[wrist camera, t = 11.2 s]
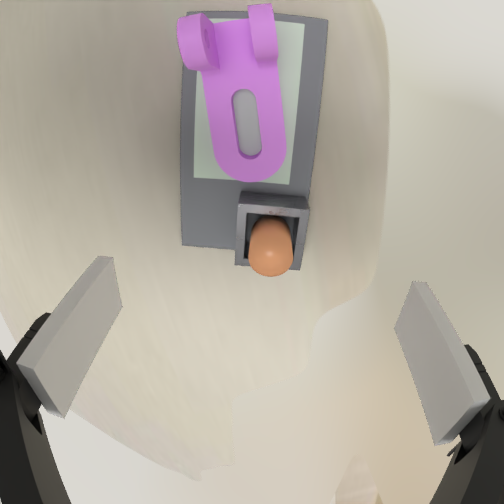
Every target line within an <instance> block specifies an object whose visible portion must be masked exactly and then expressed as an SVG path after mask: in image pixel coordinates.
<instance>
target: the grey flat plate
mask: <svg viewBox="0 0 504 504" xmlns="http://www.w3.org/2000/svg"><path fill="white" fill-rule="evenodd" d="M199 13H204V14H205V16H206V17H207V18H208V19H209V20H210V21H211V22H212V23H219V22H225V21H232V20H239V19H246V18H249V14H248V12H244V11H198V12H187V15H186V16H189V15H194V14H199ZM273 14H274V20H275V27H276V34H277V43H278V59H277V67H278V74H279V83H280V91H281V99H282V108H283V117H284V126H285V136H286V147H287V149H286V156H285V159H284V162H283V164H282V165H281V167H280V168H279V170H278V171H277V172H276V173H274V174H273V175H272V176H271V177H269V178H267V179H265V180H262V181H258V182H243V181H239V180H236V179H234V178H232V177H230V176H229V175H227V174H226V173H225V172H224V171H223V170H222V169H221V168H220V166H219V165H218V163H217V161H216V159H215V155H214V150H213V144H212V138H211V132H210V126H209V119H208V113H207V107H206V100H205V94H204V87H203V81H202V75H201V72H200V71H196V70H190V69H188V68H187V67H186V66H185V64H184V62H183V74H182V98H181V140H180V187H181V230H182V245H184V246H196V247H208V248H220V249H232V250H235V249H236V229H237V211H238V201H239V197H240V193H241V191H250V192H262V193H274V194H285V195H295V196H305V197H306V199H307V202H308V198H309V191H310V184H311V177H312V169H313V162H314V154H315V146H316V138H317V130H318V121H319V112H320V103H321V94H322V84H323V74H324V64H325V53H326V41H327V28H328V20H325V19H318V18H312V17H304V16H296V15H287V14H277V13H273ZM233 106H234V113H235V120H236V127H237V134H238V141H239V147H240V150H241V151H242V152H243V153H244V154H246V155H249V156H253V155H256V154H258V153H259V152H260V151H261V149H262V143H261V135H260V127H259V119H258V111H257V103H256V97H255V95H254V94H253V92H251V91H250V90H248V89H240V90H238V91H237V92H236V93H235V94H234V96H233ZM267 215H268V214H256V213H248V217H247V232H246V242H250V238H251V230H252V226H253V224H254V223H255V222H256V221H257V220H258V219H259V218H261V217H263V216H267ZM274 216H278V217H280V218H282V219H283V220H285V221H286V223H287V224H288V226H289V228H290V235H291V241H292V234H293V227H294V219H295V217H290V216H279V215H274Z"/></svg>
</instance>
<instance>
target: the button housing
mask: <svg viewBox="0 0 504 504" xmlns="http://www.w3.org/2000/svg"><path fill="white" fill-rule="evenodd" d="M309 212H310V209H309V206H308V202H307V199H306V197H305V196H295V195H285V194H274V193H262V192H250V191H241V193H240V197H239V201H238V211H237V229H236V249H235V265H241V266H250V263H249V259H248V255H249V246H250V242H246V232H247V217H248V213H256V214H268V215H279V216H290V217H295V219H294V227H293V234H292V241H291V243H292V251H293V262H292V265H291V266H290V268H289V270H300V267H301V261H302V256H303V250H304V244H305V237H306V231H307V225H308V219H309Z"/></svg>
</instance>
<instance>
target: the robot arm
mask: <svg viewBox="0 0 504 504" xmlns="http://www.w3.org/2000/svg"><path fill="white" fill-rule="evenodd" d="M121 309H122V302H121V298H120V293H119V288H118V283H117V278H116V272H115V267H114V261H113V257H105V256H98V257H97V258H96V259H95V260H94V261H93V262H92V264H91V265H90V266H89V267H88V268H87V270H86V271H85V272H84V273H83V274H82V276H81V277H80V278H79V279H78V280H77V282H76V283H75V284H74V285H73V287H72V288H71V289H70V290H69V292H68V293H67V294H66V295H65V297H64V298H63V299H62V300H61V302H60V303H59V304H58V306H57V307H56V308H55V309H54V311H53V312H52V313H45V314H43V315H42V316H40V317H39V318H38V319H36V320H35V322H34V323H33V324H32V326H31V327H30V328H29V330H28V331H27V332H26V334H25V335H24V338H22V339H21V341H20V342H19V343H18V345H17V346H16V348H15V349H14V350H13V352H12V353H11V355H10V356H9V358H8V359H7V360H6V359H5V357H4V356H3V354H2V352H1V350H0V498H1V502H2V504H71V502H70V499H69V497H68V495H67V492H66V490H65V487H64V485H63V482H62V480H61V477H60V474H59V471H58V469H57V466H56V463H55V460H54V457H53V454H52V451H51V448H50V445H49V442H48V438H47V435H46V432H45V428H44V424H43V420H42V417H41V414H40V412H39V408H40V406H41V404H42V405H43V406H44V408H45V409H46V411H47V412H48V413H50V414H53V415H56V416H58V417H61V418H65V416H66V414H67V412H68V409H69V407H70V405H71V403H72V401H73V399H74V397H75V395H76V393H77V391H78V389H79V387H80V385H81V383H82V381H83V379H84V377H85V375H86V373H87V371H88V369H89V367H90V365H91V363H92V361H93V360H94V358H95V356H96V354H97V352H98V350H99V348H100V346H101V345H102V343H103V341H104V339H105V337H106V335H107V334H108V332H109V330H110V328H111V326H112V325H113V323H114V321H115V319H116V317H117V316H118V314H119V312H120V310H121ZM394 329H395V332H396V334H397V337H398V339H399V342H400V345H401V347H402V350H403V352H404V355H405V358H406V360H407V363H408V366H409V368H410V371H411V374H412V376H413V380H414V383H415V385H416V388H417V391H418V394H419V397H420V400H421V403H422V406H423V409H424V412H425V415H426V419H427V422H428V425H429V428H430V432H431V435H432V438H433V442H434V445H435V446H436V445H441V444H446V443H450V442H451V441H453V440H454V439H455V438H456V437H457V435H458V434H459V435H460V438H461V441H460V442H459V443H458V444H457V445H456V446H455V447H454V448H453V449H452V450H451V451H450V452H449V453H448V455H447V456H450V455H451V454H452V453H453V452H454V454H453V457H452V459H451V461H450V463H449V466H448V468H447V470H446V472H445V474H444V476H443V478H442V481H441V483H440V485H439V487H438V489H437V491H436V493H435V494H434V496H433V498H432V500H431V502H430V504H504V400H501V399H500V397H499V395H498V393H497V391H496V389H495V387H494V385H493V383H492V381H491V379H490V377H489V375H488V373H487V372H486V369H485V367H484V365H482V362H481V360H480V358H479V356H478V354H477V353H476V352H475V351H474V350H473V349H472V348H471V347H470V346H469V345H463V343H462V341H461V339H460V337H459V336H458V334H457V332H456V330H455V328H454V327H453V325H452V323H451V321H450V320H449V318H448V316H447V315H446V313H445V312H444V310H443V308H442V306H441V305H440V303H439V301H438V300H437V298H436V297H435V295H434V293H433V292H432V290H431V289H430V287H429V285H428V284H427V282H416V281H412V284H411V286H410V289H409V292H408V294H407V297H406V300H405V302H404V305H403V307H402V310H401V313H400V315H399V318H398V320H397V322H396V325H395V327H394Z"/></svg>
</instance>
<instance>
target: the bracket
mask: <svg viewBox="0 0 504 504" xmlns="http://www.w3.org/2000/svg"><path fill="white" fill-rule="evenodd" d="M248 14H249V18H246V19H239V20H232V21H225V22H219V23H212V22H211V21H210V20H209V19H208V18H207V17H206V16H205V14H204V13H199V14H194V15H189V16H185V17H180V18H179V19H178V22H177V39H178V45H179V49H180V53H181V56H182V59H183V62H184V64H185V66H186V67H187V68H188V69H190V70H196V71H200V72H201V75H202V81H203V87H204V94H205V100H206V107H207V113H208V119H209V126H210V132H211V138H212V144H213V150H214V155H215V159H216V161H217V163H218V165H219V166H220V168H221V169H222V170H223V171H224V172H225V173H226V174H227V175H229V176H230V177H232V178H234V179H236V180H239V181H243V182H258V181H262V180H265V179H267V178H269V177H271V176H272V175H273V174H274V173H276V172H277V171H278V170H279V168H280V167H281V165H282V164H283V162H284V159H285V156H286V149H287V147H286V136H285V126H284V117H283V108H282V99H281V91H280V83H279V74H278V67H277V59H278V43H277V34H276V27H275V20H274V14H273V9H272V4H271V3H268V4H258V5H249V6H248ZM240 89H248V90H250V91H251V92H253V94H254V95H255V97H256V103H257V111H258V119H259V127H260V135H261V143H262V149H261V151H260V152H259V153H258V154H256V155H253V156H249V155H246V154H244V153H243V152H242V151H241V150H240V147H239V141H238V134H237V127H236V120H235V113H234V106H233V96H234V94H235V93H236V92H237V91H238V90H240Z"/></svg>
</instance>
